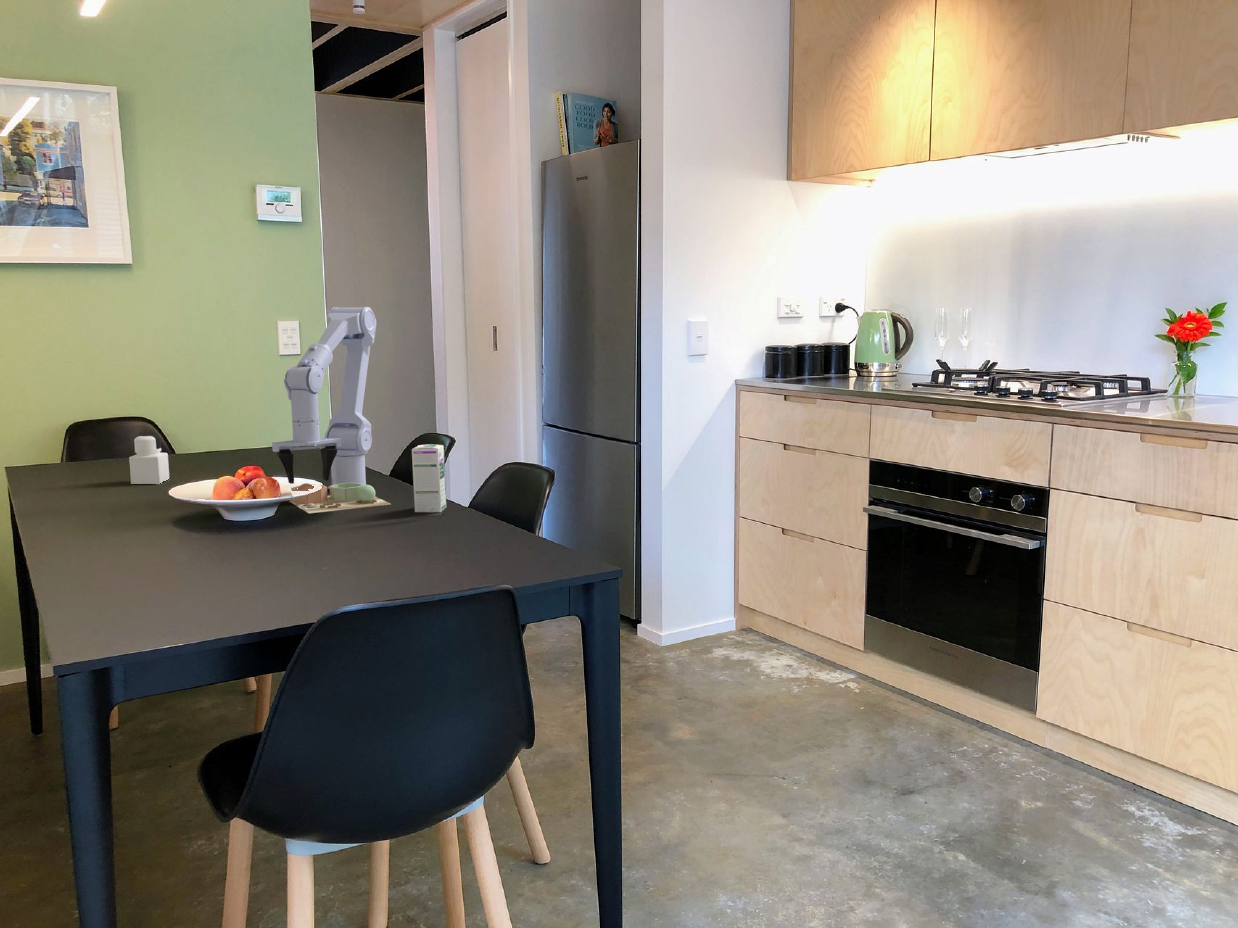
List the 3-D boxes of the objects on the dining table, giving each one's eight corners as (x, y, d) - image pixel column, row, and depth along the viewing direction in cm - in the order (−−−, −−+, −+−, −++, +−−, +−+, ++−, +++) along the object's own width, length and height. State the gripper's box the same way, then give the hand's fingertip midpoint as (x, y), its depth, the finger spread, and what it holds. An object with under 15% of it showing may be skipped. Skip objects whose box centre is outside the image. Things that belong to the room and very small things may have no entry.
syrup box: (441, 515, 205) (439, 447, 202) (413, 515, 205) (411, 447, 203) (446, 510, 210) (444, 444, 208) (419, 510, 210) (417, 444, 208)
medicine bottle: (141, 480, 250) (137, 434, 248) (170, 479, 251) (166, 433, 249) (130, 485, 243) (126, 437, 241) (160, 484, 244) (156, 437, 242)
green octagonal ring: (327, 497, 221) (326, 484, 220) (358, 494, 225) (357, 481, 224) (336, 502, 215) (336, 489, 214) (368, 499, 219) (368, 486, 218)
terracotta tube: (289, 499, 218) (288, 486, 218) (321, 496, 222) (320, 483, 222) (297, 505, 212) (296, 491, 212) (330, 501, 216) (329, 488, 216)
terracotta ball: (299, 502, 218) (291, 487, 217) (315, 494, 220) (308, 479, 218) (304, 505, 215) (296, 489, 213) (320, 497, 216) (313, 481, 215)
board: (287, 503, 218) (286, 498, 218) (365, 495, 228) (365, 490, 228) (309, 516, 203) (308, 511, 203) (391, 507, 213) (391, 502, 213)
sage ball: (354, 501, 216) (354, 484, 215) (372, 500, 218) (371, 482, 217) (360, 504, 212) (359, 486, 212) (378, 502, 214) (377, 485, 214)
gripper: (276, 424, 207) (279, 487, 209) (343, 420, 215) (346, 480, 217) (268, 421, 213) (272, 482, 215) (334, 417, 221) (337, 476, 223)
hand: (308, 481), depth 216 cm, fingers open, 7 cm apart
